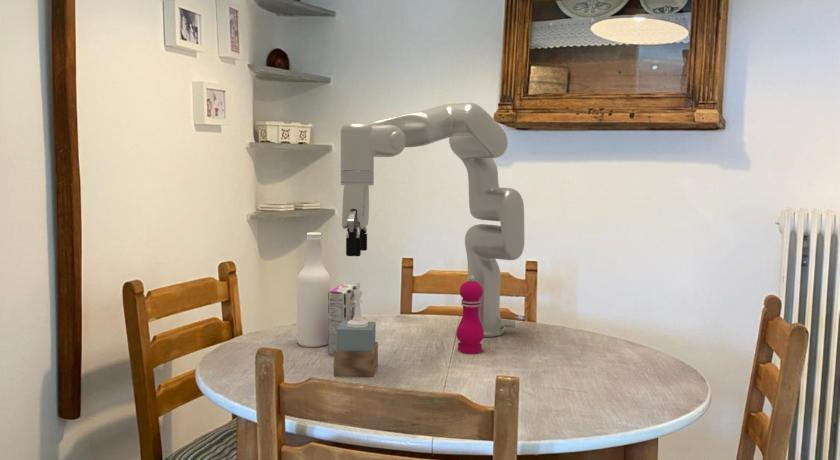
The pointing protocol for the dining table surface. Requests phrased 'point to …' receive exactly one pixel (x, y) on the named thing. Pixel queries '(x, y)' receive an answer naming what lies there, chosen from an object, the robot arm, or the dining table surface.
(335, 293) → the candy bar box
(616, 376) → the dining table surface
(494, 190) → the robot arm
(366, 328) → the slate top block
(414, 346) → the dining table surface
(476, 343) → the pepper mill
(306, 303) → the white bottle
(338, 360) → the walnut base block
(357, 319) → the chess piece
